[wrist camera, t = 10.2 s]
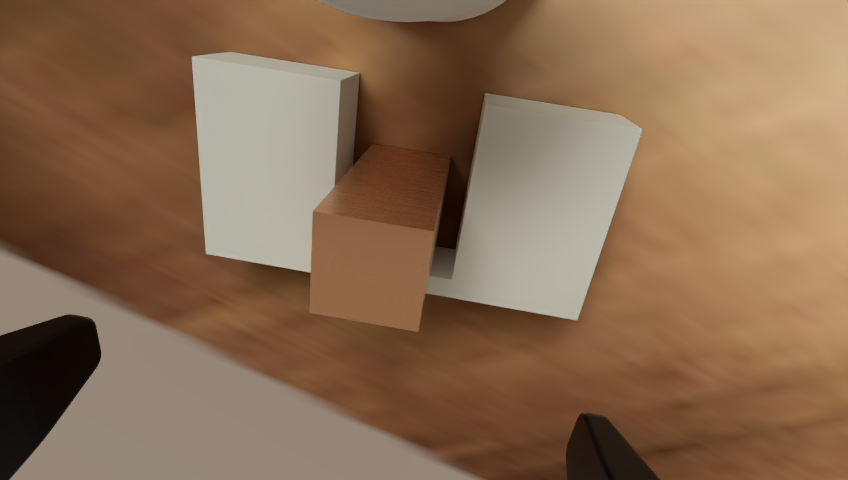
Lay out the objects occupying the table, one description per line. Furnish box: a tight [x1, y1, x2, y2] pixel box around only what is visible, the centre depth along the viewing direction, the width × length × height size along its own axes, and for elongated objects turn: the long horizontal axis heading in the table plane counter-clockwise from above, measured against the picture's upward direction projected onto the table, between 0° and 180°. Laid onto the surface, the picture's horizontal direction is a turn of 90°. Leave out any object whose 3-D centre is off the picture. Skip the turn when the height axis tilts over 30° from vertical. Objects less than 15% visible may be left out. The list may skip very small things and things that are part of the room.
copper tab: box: [309, 144, 451, 332], centre depth 15 cm, size 3×3×7 cm
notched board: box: [192, 52, 642, 320], centre depth 17 cm, size 14×7×2 cm, turn 82°
